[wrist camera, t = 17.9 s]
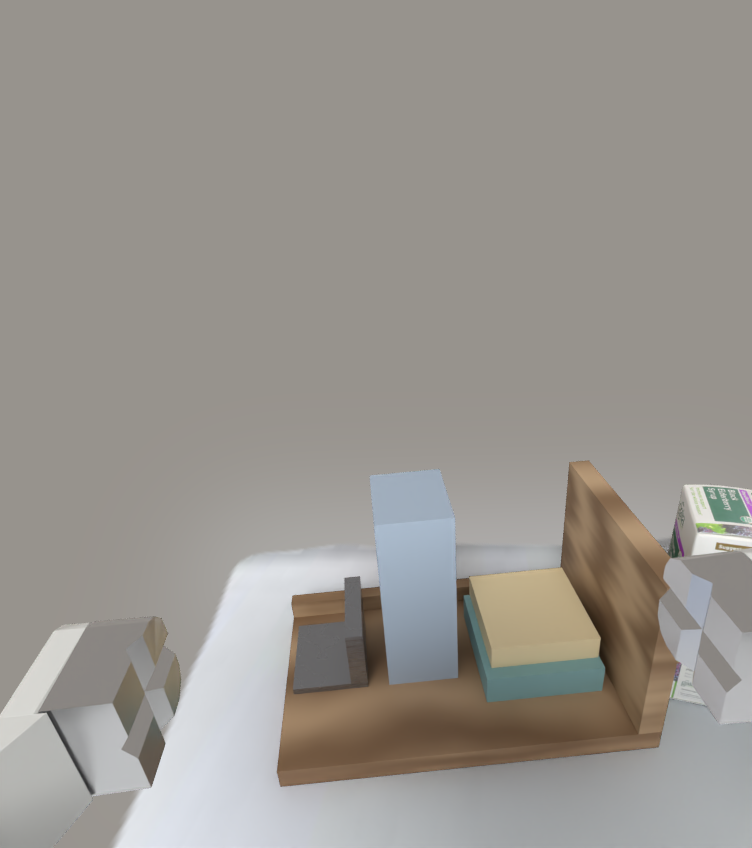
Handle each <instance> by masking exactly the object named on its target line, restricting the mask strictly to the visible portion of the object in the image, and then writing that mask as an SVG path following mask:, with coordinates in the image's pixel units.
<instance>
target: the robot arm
mask: <svg viewBox="0 0 752 848" xmlns="http://www.w3.org/2000/svg"><path fill="white" fill-rule="evenodd" d="M663 579H664V580H665V581H666V583H667V584H668V585H669V587H670V589H669V590H668V591H667V592H666V593H665V594H664V595H663V596H662V597H661V598H660V599H659V608H658V620H659V625H660V630H661V634H662V636H663V638H664V641H665V643H666V645H667V647H668V649H669V650H670V652H671V653H672V655H673V657H674V658H675V660H677V661H678V662H680V663H681V664H683V665H685V666H686V667H688V668H690V669H691V670H693V671H694V674H693V682H692V685H693V687H694V688H695V690H696V691H697V693H698V694H699V696H700V697H701V699H702V700H703V702H704V703H705V705H706V706H707V707H708V709H709V710H710V712H711V713H712V715H713V716H714V718H715V719H716V721H717V722H718V724H731V723H743V722H752V548H748V549H740V550H734V551H727V552H719V553H710V554H702V555H694V556H685V557H677V558H670V559H669V561H668V562H667V564H666V565H665V570H664V575H663ZM167 635H168V632H167V630H166V628H165V625H164V623H163V621H162V618H159V617H155V616H153V617H140V618H129V619H118V620H107V621H95V622H93V623H80V624H68V625H62V626H61V627H59V628H58V629H56V630H55V631H54V632H53V633H52V635H51V636H50V638H49V639H48V641H47V643H46V644H45V646H44V647H43V649H42V650H41V652H40V653H39V655H38V657H37V658H36V660H35V661H34V663H33V664H32V666H31V667H30V669H29V671H28V672H27V674H26V675H25V677H24V678H23V680H22V682H21V683H20V685H19V686H18V688H17V689H16V691H15V693H14V694H13V696H12V697H11V699H10V700H9V702H8V703H7V705H6V707H5V708H4V710H3V711H2V713H1V714H0V848H53V847H54V846H55V845H56V844H57V843H58V841H59V840H60V839H61V837H63V835H64V834H65V833H66V832H67V830H68V829H69V828H70V827H71V826H72V824H73V823H74V822H75V821H76V820H77V819H78V817H79V816H80V815H81V814H82V813H83V811H84V810H85V809H86V808H87V807H88V805H89V804H90V803H91V802H92V801H93V797H92V796H97V795H104V794H111V793H117V792H125V791H132V790H139V789H146V788H151V787H152V784H153V781H154V778H155V775H156V772H157V768H158V765H159V762H160V759H161V756H162V753H163V750H164V747H165V744H166V743H165V741H164V738H163V736H162V734H161V731H160V730H161V729H162V728H163V727H164V726H165V725H166V724H167V723H168V722H169V721H170V720H171V719H172V718H173V717H174V715H175V712H176V708H177V705H178V702H179V697H180V686H181V675H180V668H179V663H178V660H177V657H176V654H175V653H173V652H172V651H171V650H169V649H168V648H166V647H165V646H163V645H164V643H165V640H166V637H167Z"/></svg>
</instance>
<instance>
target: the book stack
mask: <svg viewBox="0 0 752 848" xmlns="http://www.w3.org/2000/svg"><path fill="white" fill-rule="evenodd" d="M469 594H470V595H463V596H464V619H465V623H466V626H467V630H468V634H469V637H470V641H471V645H472V648H473V652H474V656H475V660H476V663H477V667H478V671H479V674H480V678H481V682H482V685H483V689H484V693H485V697H486V700H487V702H496V701H506V700H516V699H526V698H535V697H545V696H555V695H565V694H574V693H584V692H594V691H602V688H603V681H604V674H605V666H604V664H603V662H602V661H601V659H600V657H599V648H600V641H601V637H600V636H599V634H598V632H597V630H596V628H595V627H594V625H593V623H592V621H591V619H590V618H589V616H588V614H587V612H586V610H585V608H584V607H583V605H582V603H581V601H580V599H579V598H578V596H577V594H576V592H575V590H574V588H573V587H572V585H571V583H570V581H569V579H568V578H567V576H566V574H565V572H564V570H563V568H562V567H560V568H550V569H540V570H530V571H520V572H510V573H500V574H489V575H479V576H469Z"/></svg>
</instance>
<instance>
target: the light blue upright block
mask: <svg viewBox="0 0 752 848" xmlns="http://www.w3.org/2000/svg"><path fill="white" fill-rule="evenodd" d="M370 484H371V497H372V508H373V520H374V531H375V541H376V552H377V562H378V573H379V583H380V593H381V604H382V614H383V624H384V635H385V645H386V655H387V666H388V676H389V685H393V684H403V683H413V682H422V681H432V680H442V679H452V678H458V644H457V592H456V539H455V516H454V513H453V510H452V507H451V503H450V501H449V497H448V494H447V491H446V488H445V485H444V482H443V479H442V475H441V472H440V469H434V470H424V471H414V472H405V473H404V472H403V473H392V474H382V475H371V476H370Z"/></svg>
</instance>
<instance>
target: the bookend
mask: <svg viewBox="0 0 752 848" xmlns="http://www.w3.org/2000/svg"><path fill="white" fill-rule="evenodd" d="M362 687H368V667H367V647H366V626H365V616H364V608H363V599H362V590H361V582H360V576H359V577H349V578H345V621H344V622H334V623H324V624H314V625H304V626H299V631H298V641H297V652H296V662H295V672H294V682H293V693H294V694H303V693H313V692H323V691H333V690H342V689H352V688H362Z"/></svg>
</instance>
